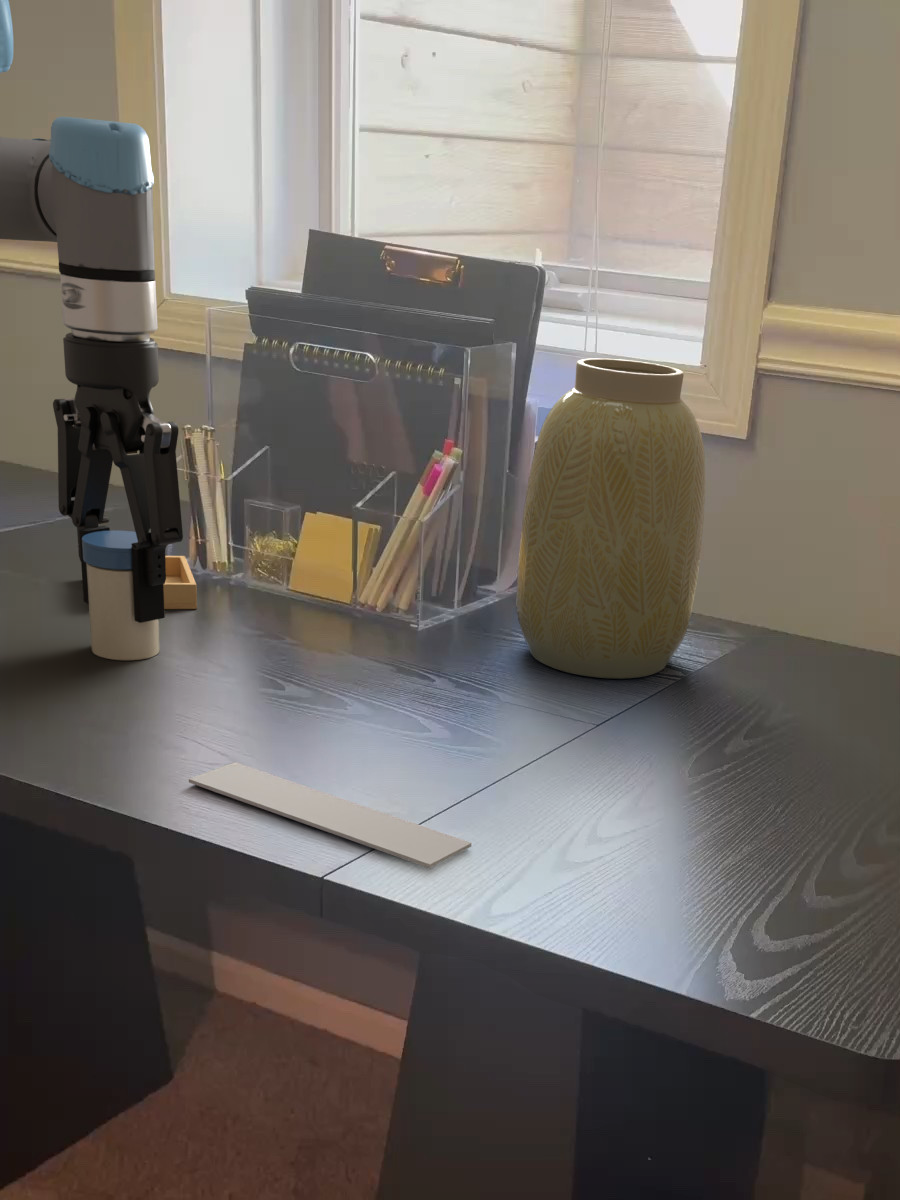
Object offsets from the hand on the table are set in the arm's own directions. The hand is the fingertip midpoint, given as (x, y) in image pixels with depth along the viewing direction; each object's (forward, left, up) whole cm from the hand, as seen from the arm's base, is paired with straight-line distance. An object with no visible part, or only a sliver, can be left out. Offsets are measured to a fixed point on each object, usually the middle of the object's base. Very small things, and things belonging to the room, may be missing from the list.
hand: (123, 609), depth 132 cm
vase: (+28, +35, -4) cm, 45 cm away
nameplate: (+39, -12, -4) cm, 41 cm away
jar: (0, 0, -4) cm, 4 cm away
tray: (-14, +13, -4) cm, 20 cm away
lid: (0, 0, +6) cm, 6 cm away
